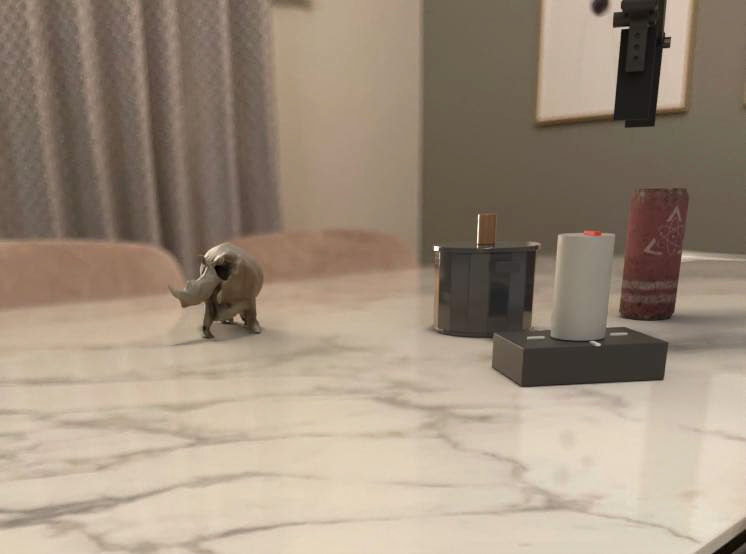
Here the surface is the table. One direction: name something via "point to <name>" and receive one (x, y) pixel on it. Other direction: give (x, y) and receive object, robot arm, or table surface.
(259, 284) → the rhinoceros figurine
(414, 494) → the table surface
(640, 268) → the can
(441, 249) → the pot lid
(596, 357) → the block
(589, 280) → the knob
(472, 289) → the pot
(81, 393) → the table surface
